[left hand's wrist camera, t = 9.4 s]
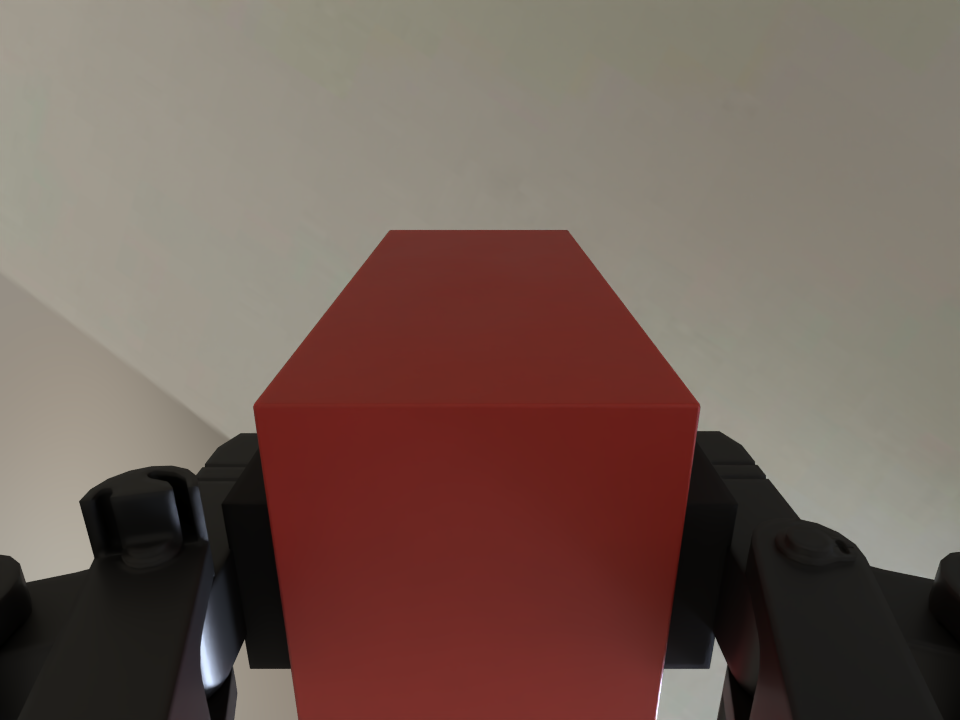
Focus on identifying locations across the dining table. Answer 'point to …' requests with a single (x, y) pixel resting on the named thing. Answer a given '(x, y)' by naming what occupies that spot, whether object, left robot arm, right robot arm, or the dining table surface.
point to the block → (477, 488)
